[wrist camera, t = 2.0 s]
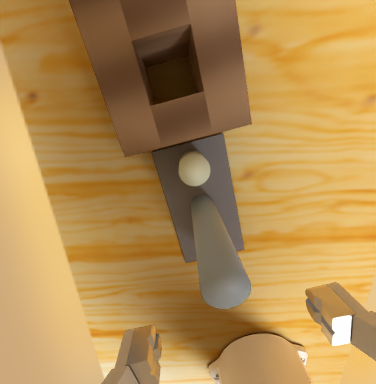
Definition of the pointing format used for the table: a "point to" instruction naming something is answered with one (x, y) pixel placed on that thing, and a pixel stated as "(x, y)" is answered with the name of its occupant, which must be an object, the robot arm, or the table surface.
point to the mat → (199, 190)
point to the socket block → (161, 52)
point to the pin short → (193, 168)
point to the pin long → (217, 258)
